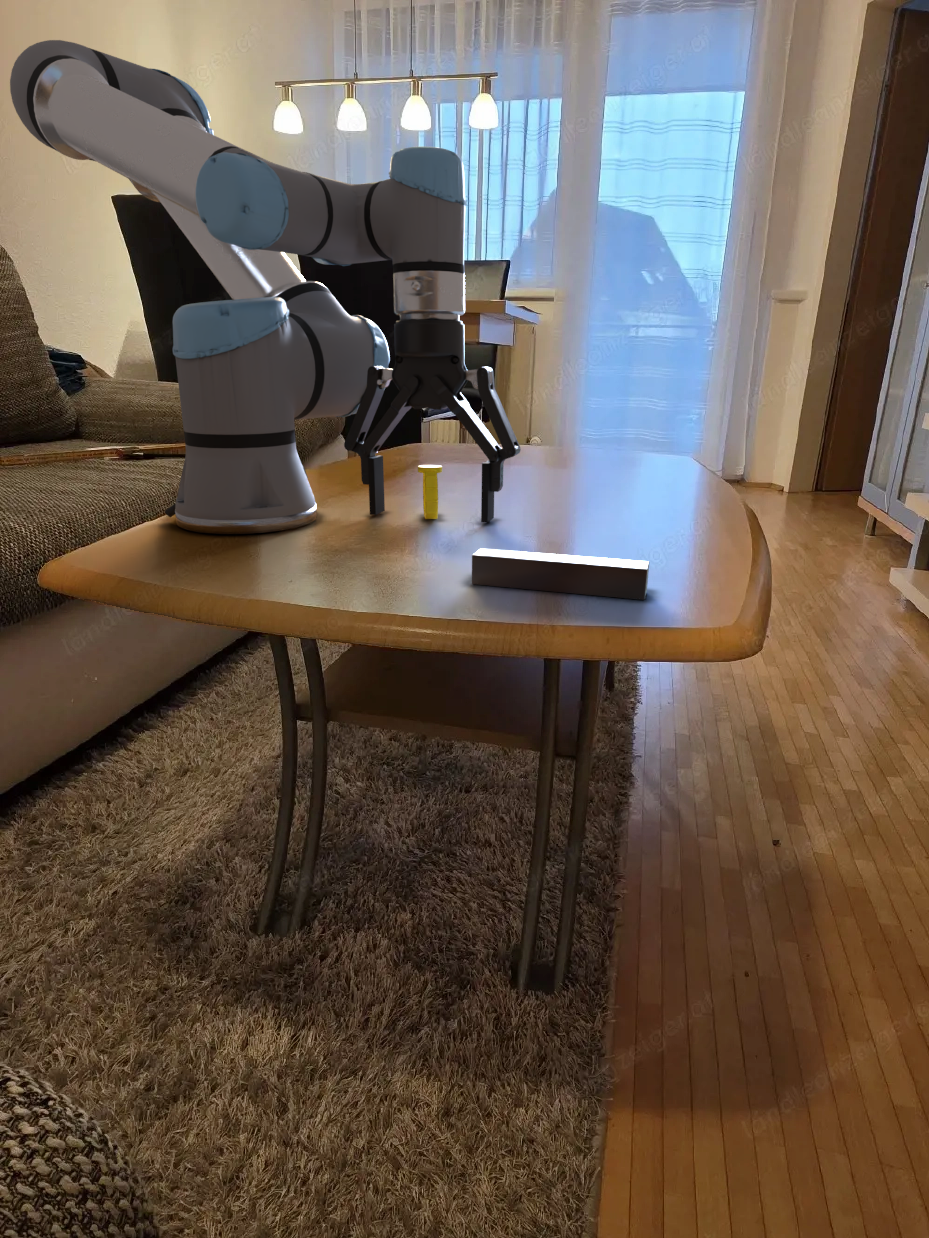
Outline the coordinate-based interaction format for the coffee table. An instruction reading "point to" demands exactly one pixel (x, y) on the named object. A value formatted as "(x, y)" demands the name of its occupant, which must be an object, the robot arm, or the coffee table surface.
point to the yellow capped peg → (430, 489)
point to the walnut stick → (561, 573)
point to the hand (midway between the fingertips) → (431, 516)
